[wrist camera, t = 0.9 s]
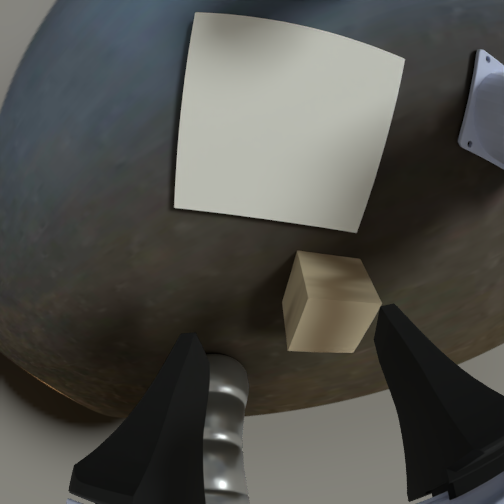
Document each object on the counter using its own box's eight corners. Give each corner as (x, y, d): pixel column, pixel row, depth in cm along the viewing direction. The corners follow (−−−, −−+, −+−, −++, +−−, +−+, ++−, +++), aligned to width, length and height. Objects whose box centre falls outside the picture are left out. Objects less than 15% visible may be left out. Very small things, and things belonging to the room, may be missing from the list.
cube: (359, 258, 21) (382, 303, 17) (338, 306, 24) (353, 352, 20) (297, 249, 21) (308, 297, 17) (281, 301, 24) (287, 350, 19)
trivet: (398, 59, 13) (404, 59, 12) (353, 227, 20) (356, 233, 19) (197, 15, 12) (195, 12, 11) (176, 202, 19) (174, 207, 18)
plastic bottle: (179, 372, 29) (157, 550, 12) (194, 337, 26) (169, 560, 9) (235, 386, 31) (232, 557, 14) (259, 353, 27) (266, 563, 10)
